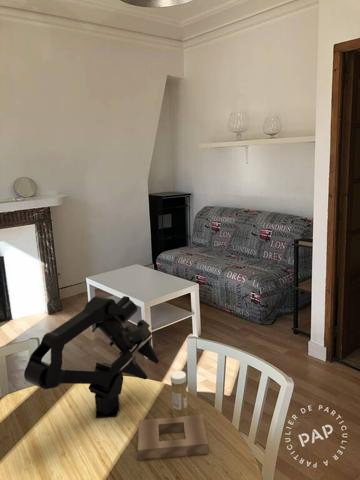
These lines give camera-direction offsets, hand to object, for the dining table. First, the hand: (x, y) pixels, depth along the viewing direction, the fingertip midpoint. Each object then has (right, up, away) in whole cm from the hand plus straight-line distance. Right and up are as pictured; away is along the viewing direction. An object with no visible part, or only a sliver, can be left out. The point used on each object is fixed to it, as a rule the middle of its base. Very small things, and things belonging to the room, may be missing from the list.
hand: (152, 370), depth 124 cm
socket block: (+6, -16, -11) cm, 20 cm away
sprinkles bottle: (+8, -14, 0) cm, 16 cm away
